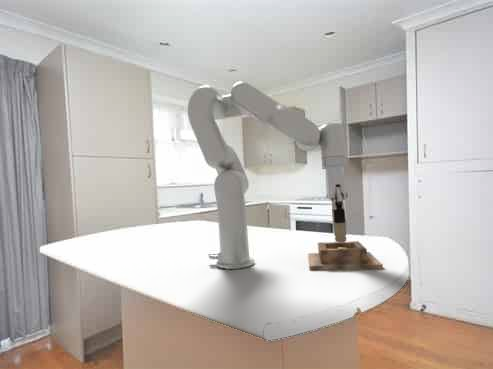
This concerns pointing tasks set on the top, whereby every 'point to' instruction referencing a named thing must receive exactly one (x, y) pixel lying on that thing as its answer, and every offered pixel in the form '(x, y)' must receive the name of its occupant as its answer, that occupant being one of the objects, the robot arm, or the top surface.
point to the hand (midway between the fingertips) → (338, 221)
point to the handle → (339, 225)
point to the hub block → (342, 257)
